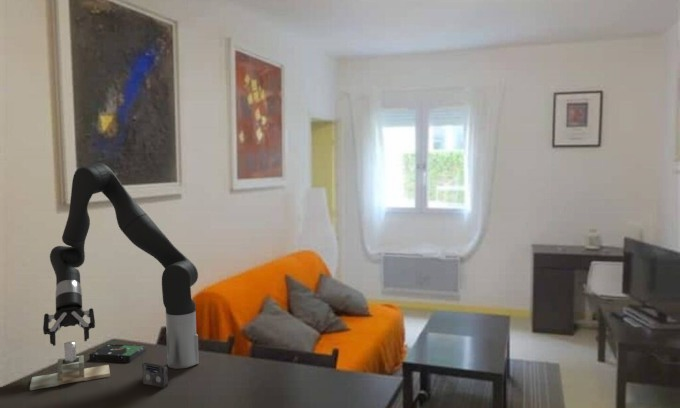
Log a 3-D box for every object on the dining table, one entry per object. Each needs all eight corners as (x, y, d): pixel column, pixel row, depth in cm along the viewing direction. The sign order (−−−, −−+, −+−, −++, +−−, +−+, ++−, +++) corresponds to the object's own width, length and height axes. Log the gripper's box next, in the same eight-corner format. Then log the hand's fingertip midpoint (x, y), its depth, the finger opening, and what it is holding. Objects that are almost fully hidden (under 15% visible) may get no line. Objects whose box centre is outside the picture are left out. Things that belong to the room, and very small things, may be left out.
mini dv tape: (167, 386, 149) (167, 366, 149) (164, 388, 148) (163, 367, 147) (146, 381, 152) (146, 361, 152) (143, 383, 151) (142, 363, 151)
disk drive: (88, 362, 170) (130, 363, 168) (88, 354, 170) (130, 355, 168) (106, 351, 180) (146, 352, 178) (106, 343, 180) (146, 344, 178)
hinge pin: (76, 372, 157) (75, 340, 157) (76, 376, 155) (75, 343, 154) (65, 374, 156) (64, 342, 155) (65, 377, 153) (64, 345, 153)
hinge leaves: (108, 367, 164) (108, 350, 163) (110, 376, 156) (109, 358, 156) (32, 380, 154) (31, 362, 154) (30, 390, 147) (29, 371, 147)
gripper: (42, 293, 160) (42, 340, 151) (93, 288, 167) (95, 332, 157) (44, 306, 165) (44, 352, 156) (93, 300, 172) (95, 344, 162)
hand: (70, 342), depth 156 cm, fingers open, 8 cm apart
